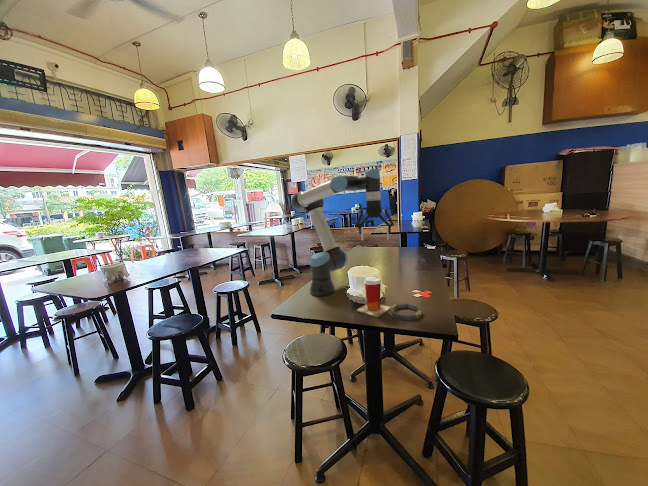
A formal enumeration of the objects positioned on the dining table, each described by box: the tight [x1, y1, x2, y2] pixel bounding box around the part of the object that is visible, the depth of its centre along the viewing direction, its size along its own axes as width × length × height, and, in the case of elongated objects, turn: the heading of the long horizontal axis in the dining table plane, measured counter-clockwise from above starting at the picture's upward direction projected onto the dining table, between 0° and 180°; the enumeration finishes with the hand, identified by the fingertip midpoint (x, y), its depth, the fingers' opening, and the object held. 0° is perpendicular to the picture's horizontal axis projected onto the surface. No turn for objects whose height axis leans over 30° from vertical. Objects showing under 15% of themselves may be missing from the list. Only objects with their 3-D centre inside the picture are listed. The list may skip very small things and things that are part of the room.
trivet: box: [356, 303, 391, 318], centre depth 123 cm, size 12×12×1 cm
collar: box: [389, 302, 422, 321], centre depth 117 cm, size 13×13×2 cm
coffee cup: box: [363, 276, 382, 311], centre depth 122 cm, size 8×8×15 cm
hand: (375, 239), depth 136 cm, fingers open, 13 cm apart
